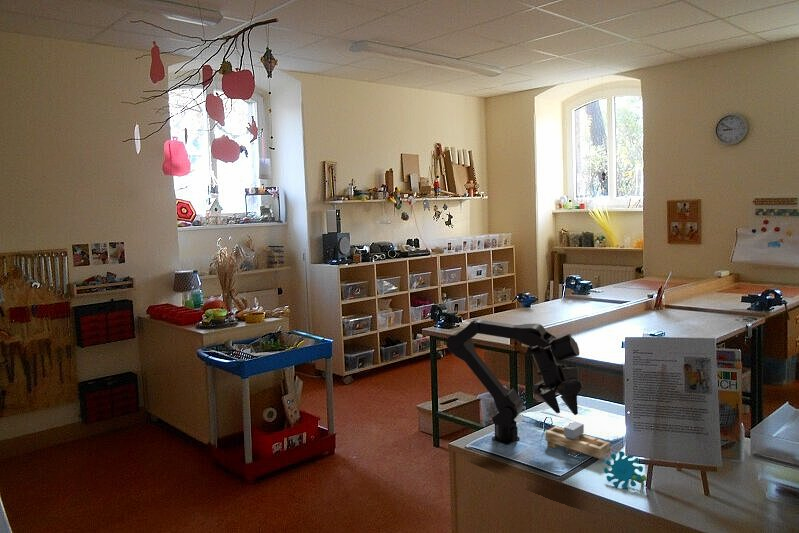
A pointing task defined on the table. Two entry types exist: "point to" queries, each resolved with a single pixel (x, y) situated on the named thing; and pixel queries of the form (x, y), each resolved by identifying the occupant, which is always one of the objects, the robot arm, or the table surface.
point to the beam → (577, 443)
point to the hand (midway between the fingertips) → (567, 413)
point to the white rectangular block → (574, 430)
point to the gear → (624, 470)
